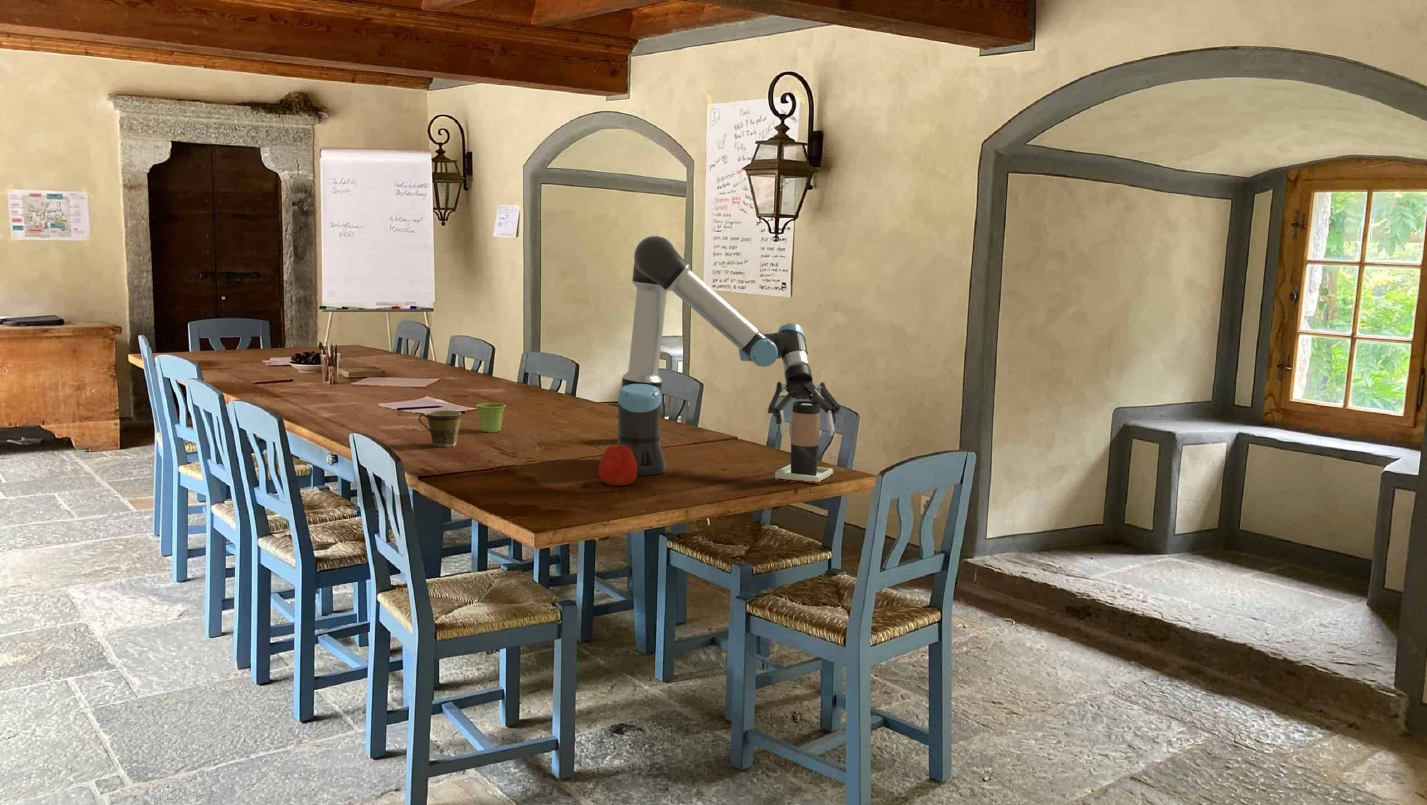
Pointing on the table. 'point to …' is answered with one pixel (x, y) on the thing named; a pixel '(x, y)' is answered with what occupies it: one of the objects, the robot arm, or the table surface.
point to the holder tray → (786, 474)
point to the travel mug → (805, 437)
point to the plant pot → (491, 416)
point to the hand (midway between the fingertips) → (808, 432)
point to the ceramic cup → (443, 427)
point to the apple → (618, 466)
